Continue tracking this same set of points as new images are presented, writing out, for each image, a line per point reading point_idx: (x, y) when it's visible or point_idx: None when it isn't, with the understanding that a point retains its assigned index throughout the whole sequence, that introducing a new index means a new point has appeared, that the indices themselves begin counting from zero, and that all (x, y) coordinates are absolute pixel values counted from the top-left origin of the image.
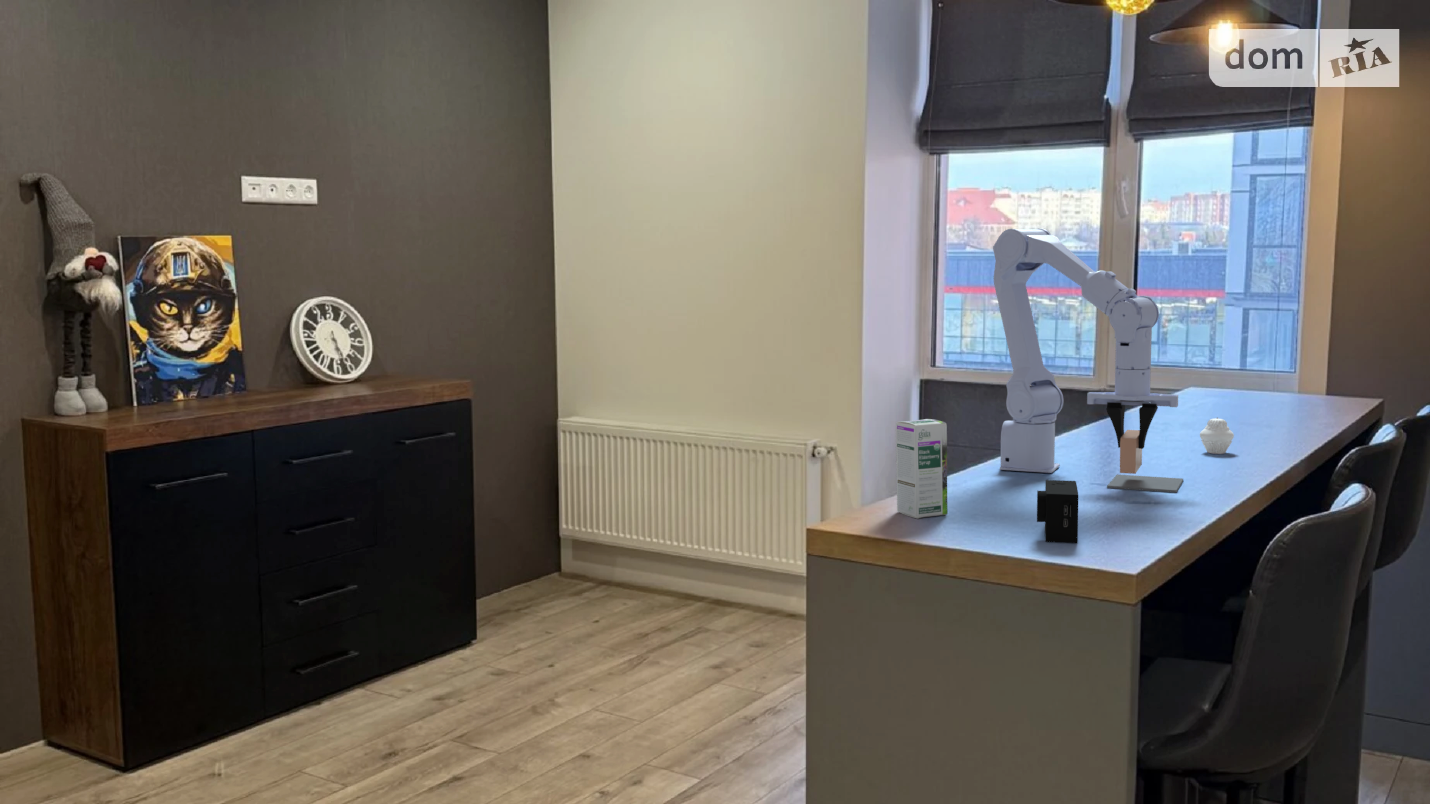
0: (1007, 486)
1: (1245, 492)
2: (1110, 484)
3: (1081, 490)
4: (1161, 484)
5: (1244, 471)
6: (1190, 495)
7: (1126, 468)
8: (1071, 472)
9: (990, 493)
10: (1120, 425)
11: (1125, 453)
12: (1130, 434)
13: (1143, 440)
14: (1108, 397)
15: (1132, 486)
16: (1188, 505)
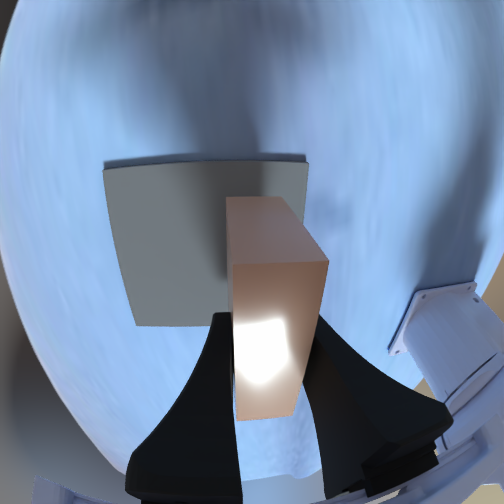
0: (487, 136)
1: (6, 246)
2: (300, 186)
3: (369, 110)
4: (158, 239)
5: (96, 400)
6: (69, 151)
7: (261, 201)
8: (376, 321)
9: (496, 66)
10: (342, 374)
11: (278, 223)
12: (276, 358)
13: (208, 334)
14: (463, 483)
15: (232, 175)
16: (66, 24)
